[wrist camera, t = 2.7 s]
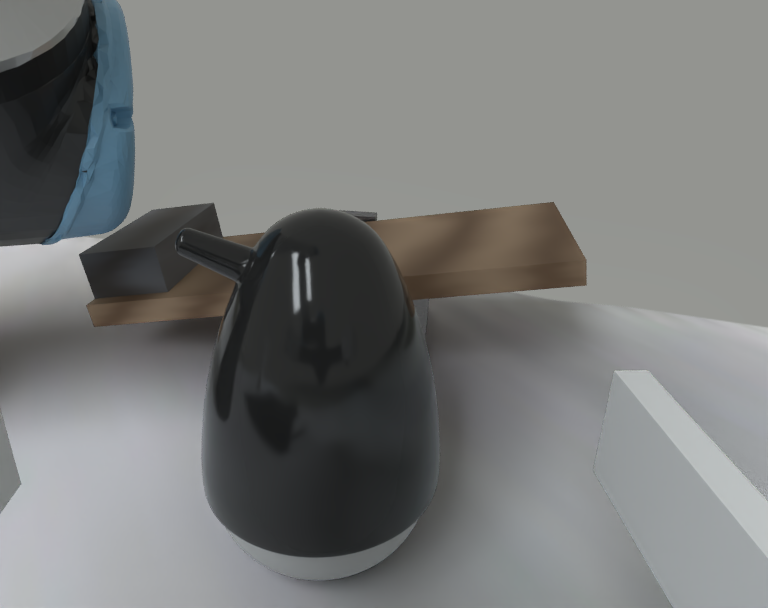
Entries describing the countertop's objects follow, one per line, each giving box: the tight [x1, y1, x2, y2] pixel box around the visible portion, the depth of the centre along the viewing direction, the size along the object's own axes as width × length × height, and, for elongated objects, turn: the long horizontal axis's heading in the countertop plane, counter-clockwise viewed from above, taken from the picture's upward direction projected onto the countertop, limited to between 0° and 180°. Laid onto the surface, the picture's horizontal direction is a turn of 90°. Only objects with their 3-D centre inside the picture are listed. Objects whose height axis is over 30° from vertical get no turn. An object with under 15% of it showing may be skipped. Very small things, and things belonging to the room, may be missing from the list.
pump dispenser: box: [175, 208, 440, 581], centre depth 25 cm, size 10×10×15 cm
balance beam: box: [79, 202, 586, 327], centre depth 40 cm, size 30×12×4 cm, turn 84°
